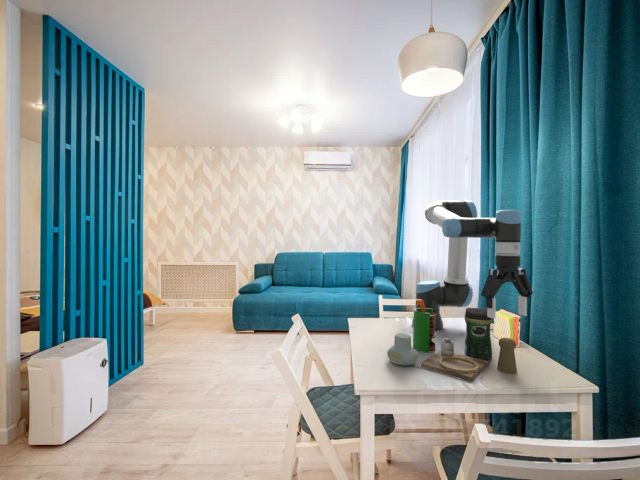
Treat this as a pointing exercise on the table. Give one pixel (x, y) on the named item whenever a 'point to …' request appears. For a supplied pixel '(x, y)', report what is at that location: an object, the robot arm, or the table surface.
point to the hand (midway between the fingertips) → (507, 316)
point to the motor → (423, 328)
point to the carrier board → (454, 363)
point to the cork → (507, 356)
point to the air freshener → (402, 350)
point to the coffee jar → (478, 334)
